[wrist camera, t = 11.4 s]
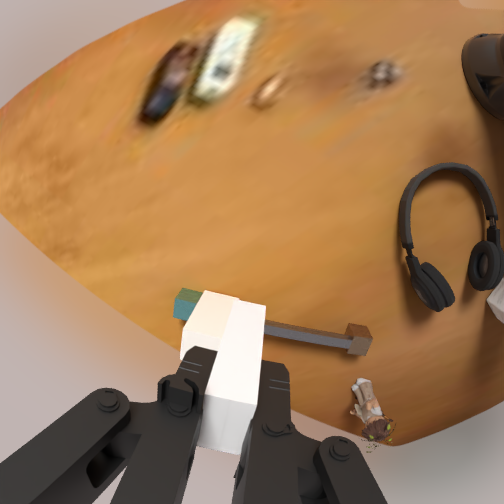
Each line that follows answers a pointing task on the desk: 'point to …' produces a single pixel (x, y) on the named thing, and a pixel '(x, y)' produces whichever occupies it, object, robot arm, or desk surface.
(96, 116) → the desk surface
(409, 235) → the headphones
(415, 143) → the desk surface
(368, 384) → the toy
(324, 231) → the desk surface
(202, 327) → the sleeve
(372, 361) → the desk surface
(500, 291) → the skincare box
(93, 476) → the robot arm
